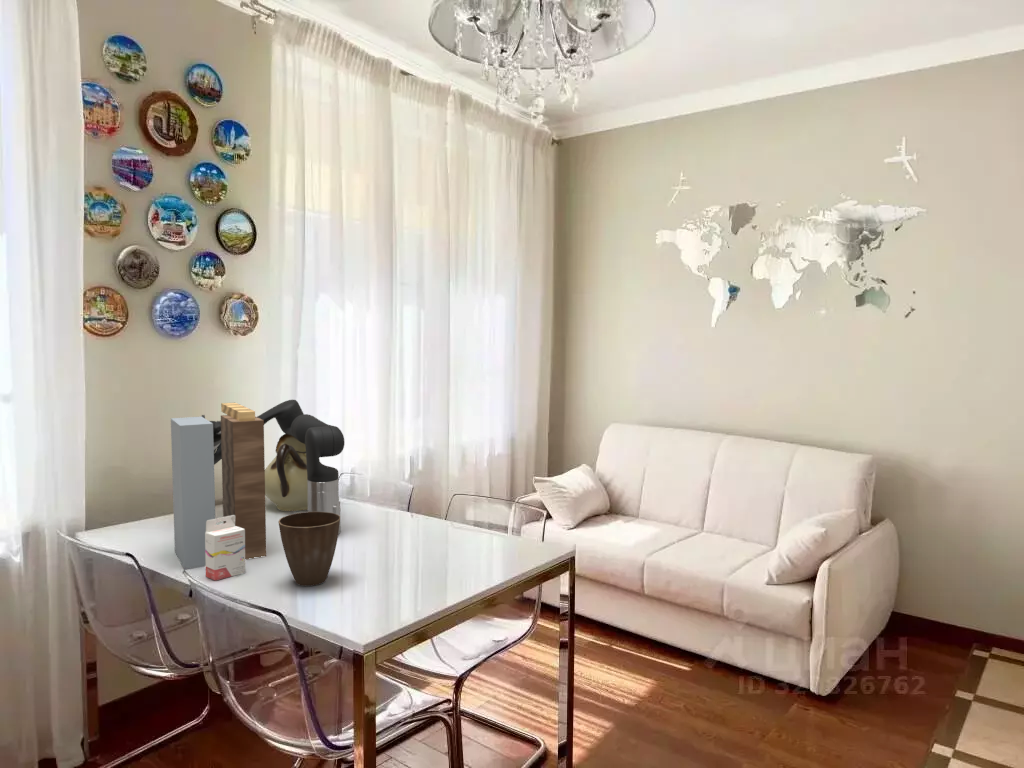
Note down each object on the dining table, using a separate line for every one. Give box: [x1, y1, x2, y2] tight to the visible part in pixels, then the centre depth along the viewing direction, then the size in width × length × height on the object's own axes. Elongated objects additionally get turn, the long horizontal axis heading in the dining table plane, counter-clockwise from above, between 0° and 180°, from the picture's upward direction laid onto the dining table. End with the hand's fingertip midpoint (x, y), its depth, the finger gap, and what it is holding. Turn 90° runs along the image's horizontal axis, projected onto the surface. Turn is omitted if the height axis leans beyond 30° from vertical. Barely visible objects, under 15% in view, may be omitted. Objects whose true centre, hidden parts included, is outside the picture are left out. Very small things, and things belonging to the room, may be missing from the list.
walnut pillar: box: [220, 414, 267, 560], centre depth 206 cm, size 16×8×38 cm, turn 33°
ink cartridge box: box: [205, 515, 246, 581], centre depth 187 cm, size 9×5×15 cm, turn 141°
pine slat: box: [220, 402, 256, 421], centre depth 208 cm, size 24×4×2 cm, turn 33°
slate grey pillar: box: [170, 416, 216, 570], centre depth 199 cm, size 16×8×38 cm, turn 33°
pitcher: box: [265, 433, 323, 512], centre depth 254 cm, size 22×24×25 cm
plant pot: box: [278, 511, 341, 587], centre depth 184 cm, size 15×15×16 cm
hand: (218, 416), depth 225 cm, fingers open, 8 cm apart
